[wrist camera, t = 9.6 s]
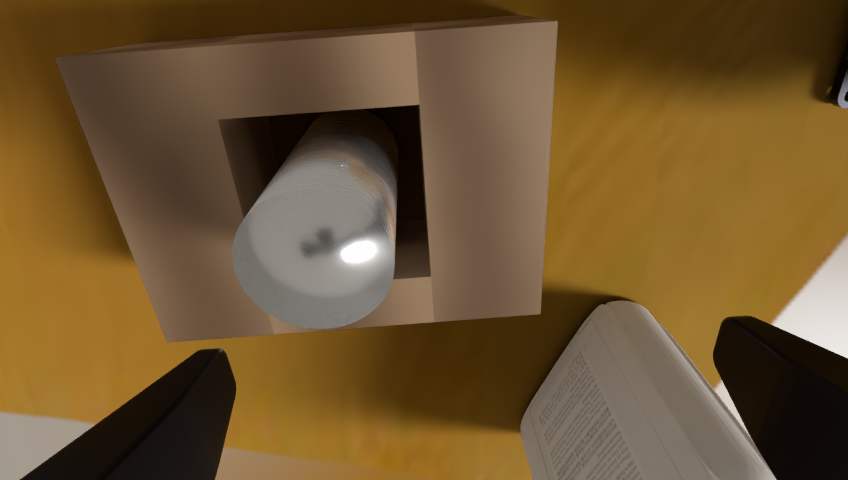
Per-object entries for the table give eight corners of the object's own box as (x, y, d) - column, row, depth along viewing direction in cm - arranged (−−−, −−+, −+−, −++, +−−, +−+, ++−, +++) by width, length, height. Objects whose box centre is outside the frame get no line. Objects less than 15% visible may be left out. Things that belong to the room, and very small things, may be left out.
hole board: (519, 15, 18) (558, 21, 13) (512, 250, 22) (540, 314, 18) (142, 42, 18) (54, 57, 13) (214, 272, 22) (166, 342, 18)
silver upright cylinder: (402, 195, 21) (401, 323, 13) (311, 203, 21) (253, 334, 13) (393, 103, 19) (385, 183, 11) (293, 110, 19) (212, 197, 11)
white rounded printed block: (571, 443, 28) (677, 724, 17) (507, 427, 28) (576, 712, 17) (668, 310, 24) (890, 570, 13) (596, 286, 23) (767, 543, 12)
